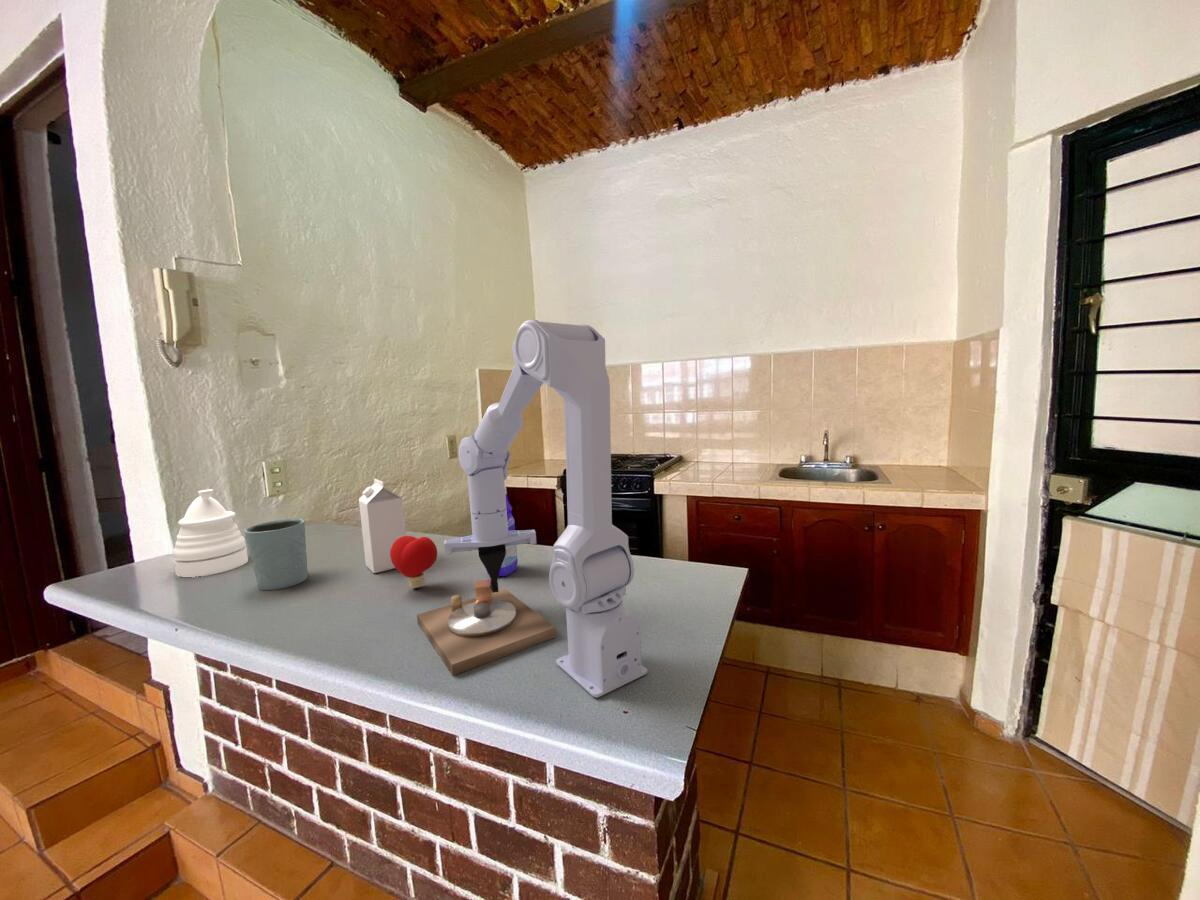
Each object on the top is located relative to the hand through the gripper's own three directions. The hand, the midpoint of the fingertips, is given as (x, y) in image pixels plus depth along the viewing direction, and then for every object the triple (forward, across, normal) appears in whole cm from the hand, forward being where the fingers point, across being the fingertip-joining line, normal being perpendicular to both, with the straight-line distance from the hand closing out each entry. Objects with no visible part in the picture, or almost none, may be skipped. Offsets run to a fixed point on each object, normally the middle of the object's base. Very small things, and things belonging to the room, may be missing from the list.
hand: (495, 590), depth 77 cm
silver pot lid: (+2, +2, +5) cm, 6 cm away
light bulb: (+4, +14, -15) cm, 21 cm away
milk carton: (+3, +22, -31) cm, 38 cm away
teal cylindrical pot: (+3, +42, -29) cm, 51 cm away
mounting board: (+3, +2, +6) cm, 8 cm away
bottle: (+4, -2, -17) cm, 18 cm away
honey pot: (+3, +62, -46) cm, 77 cm away
